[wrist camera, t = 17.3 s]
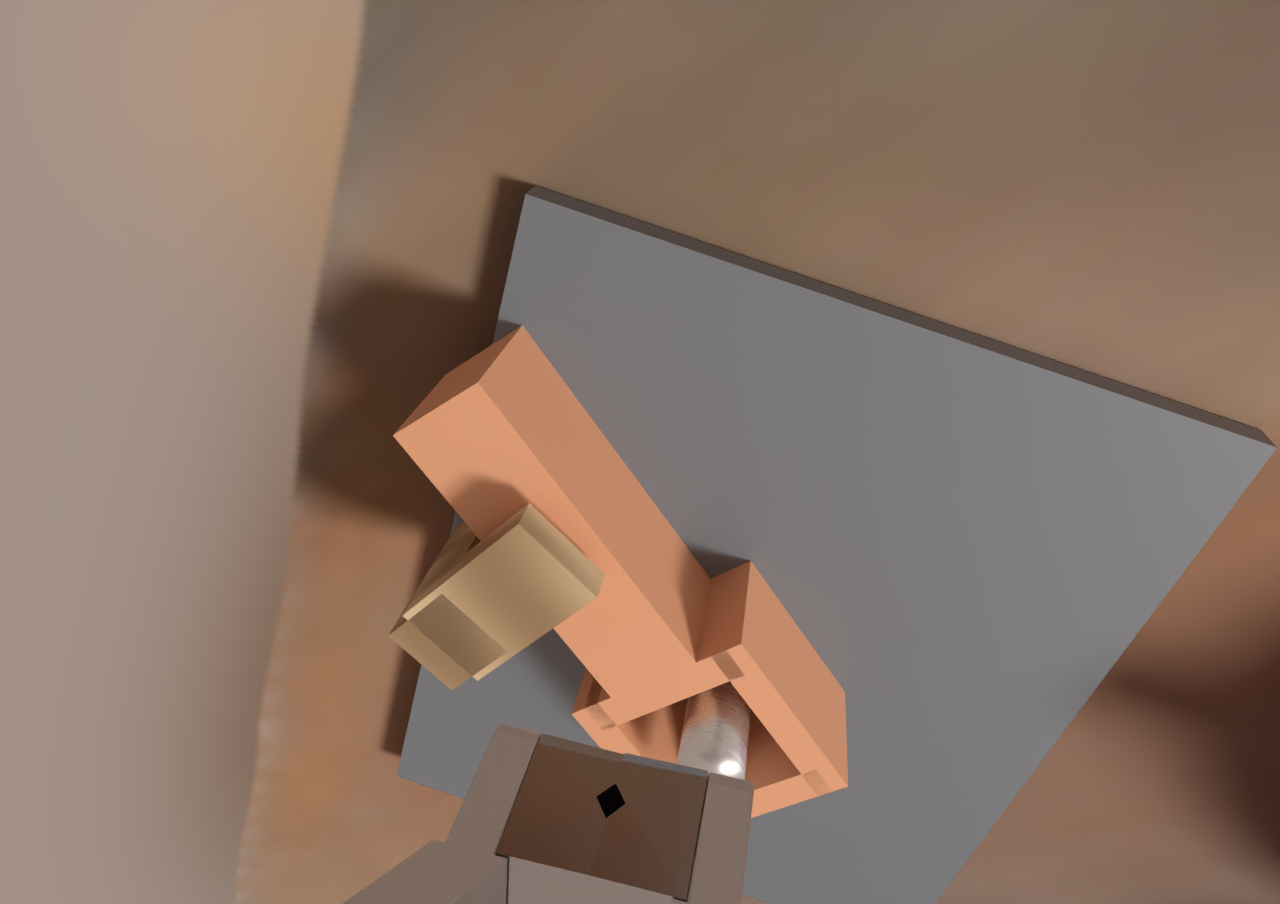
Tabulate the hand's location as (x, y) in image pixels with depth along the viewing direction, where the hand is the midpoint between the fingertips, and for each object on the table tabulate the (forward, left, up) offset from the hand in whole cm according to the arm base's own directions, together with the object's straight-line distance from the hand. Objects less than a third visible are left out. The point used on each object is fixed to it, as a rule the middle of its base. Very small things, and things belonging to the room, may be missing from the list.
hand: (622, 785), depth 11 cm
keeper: (+8, -4, -18) cm, 20 cm away
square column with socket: (+9, 0, -17) cm, 19 cm away
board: (+11, +4, -18) cm, 21 cm away
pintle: (+12, +4, -18) cm, 22 cm away
